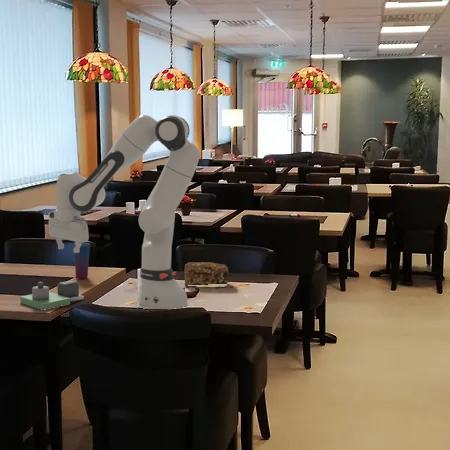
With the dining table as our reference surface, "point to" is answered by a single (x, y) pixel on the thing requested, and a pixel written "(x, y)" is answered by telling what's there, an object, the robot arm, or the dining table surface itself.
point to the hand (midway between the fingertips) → (68, 250)
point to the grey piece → (68, 288)
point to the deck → (46, 303)
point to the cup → (82, 261)
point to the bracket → (76, 298)
